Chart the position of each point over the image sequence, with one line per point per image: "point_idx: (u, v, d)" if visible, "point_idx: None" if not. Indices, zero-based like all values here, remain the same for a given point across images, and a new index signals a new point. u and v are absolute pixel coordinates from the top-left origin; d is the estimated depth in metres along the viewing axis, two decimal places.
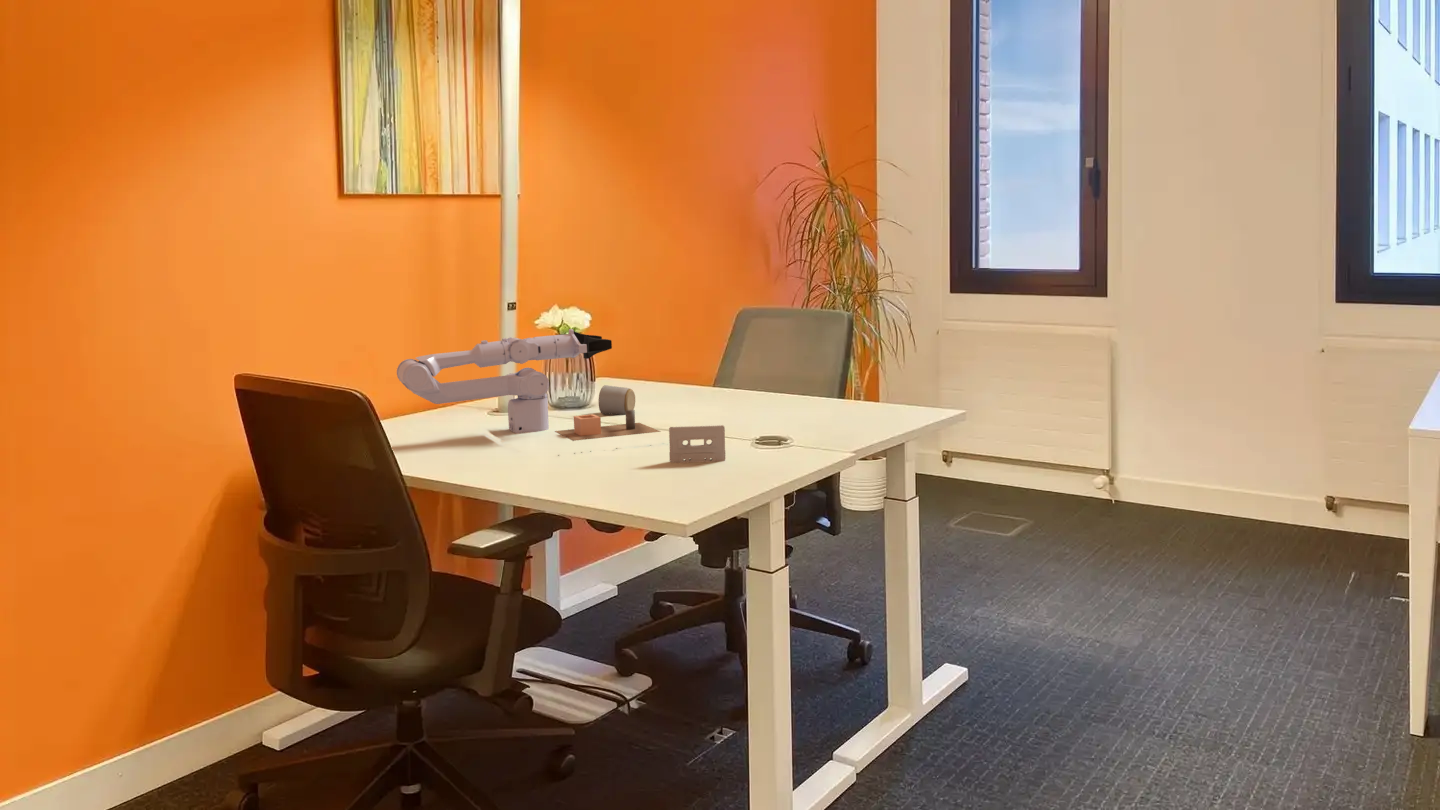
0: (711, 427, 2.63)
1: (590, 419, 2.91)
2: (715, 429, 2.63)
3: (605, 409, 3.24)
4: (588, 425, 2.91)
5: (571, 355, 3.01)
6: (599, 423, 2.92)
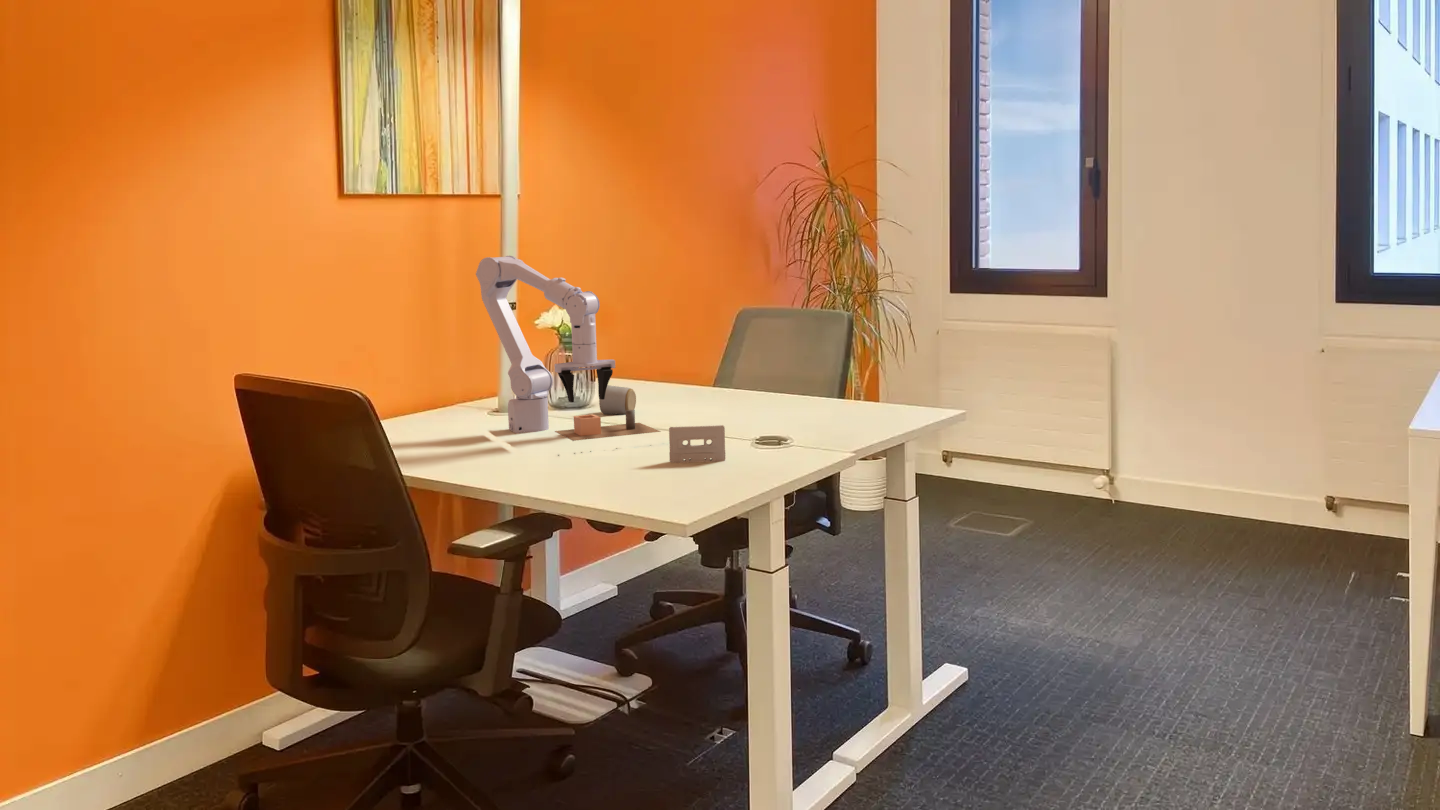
0: (711, 427, 2.63)
1: (590, 419, 2.91)
2: (715, 429, 2.63)
3: (606, 409, 3.24)
4: (588, 425, 2.91)
5: None
6: (599, 423, 2.92)
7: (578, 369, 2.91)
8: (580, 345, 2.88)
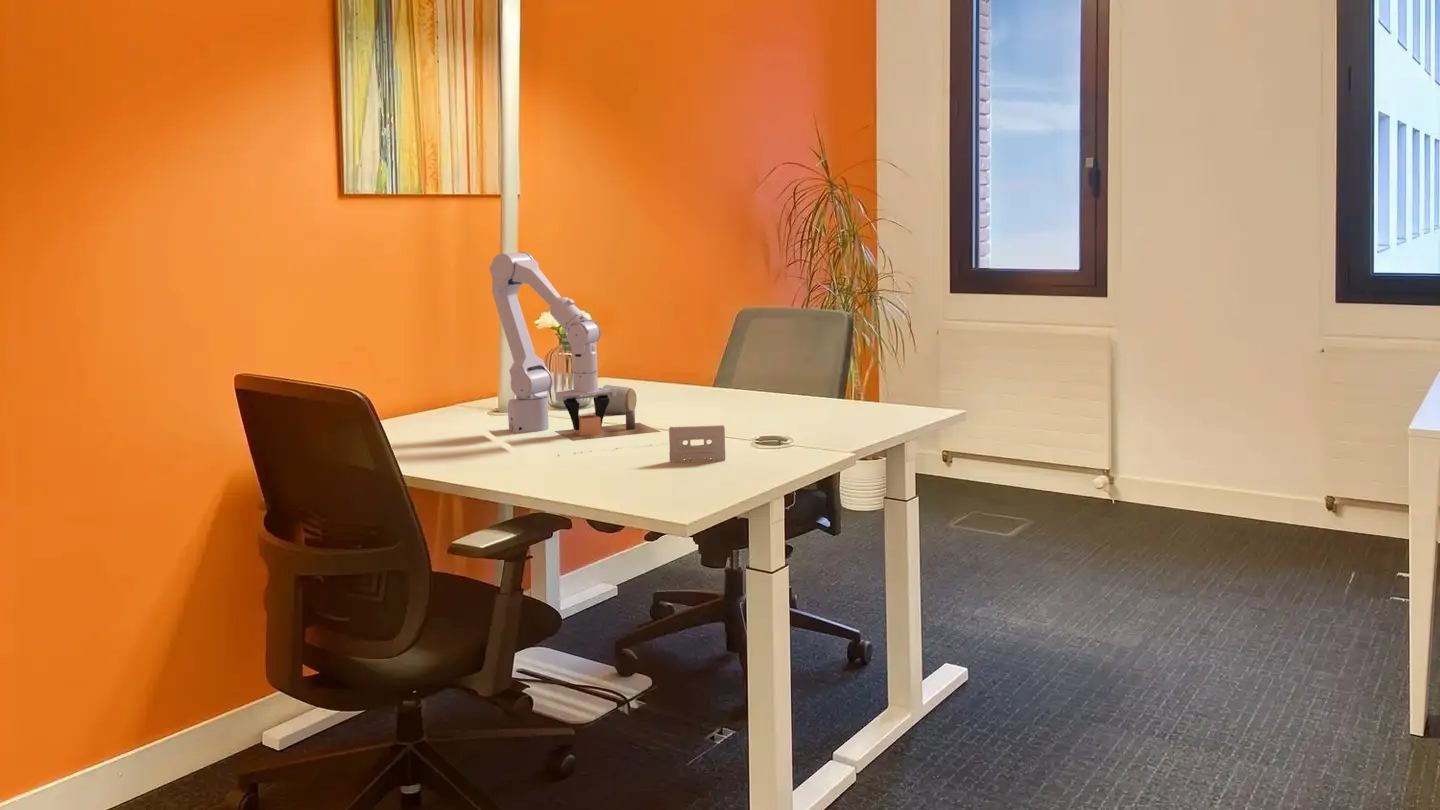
0: (711, 427, 2.63)
1: (590, 419, 2.91)
2: (715, 429, 2.63)
3: (606, 409, 3.24)
4: (588, 425, 2.91)
5: None
6: (599, 423, 2.92)
7: (579, 397, 2.92)
8: (581, 374, 2.89)
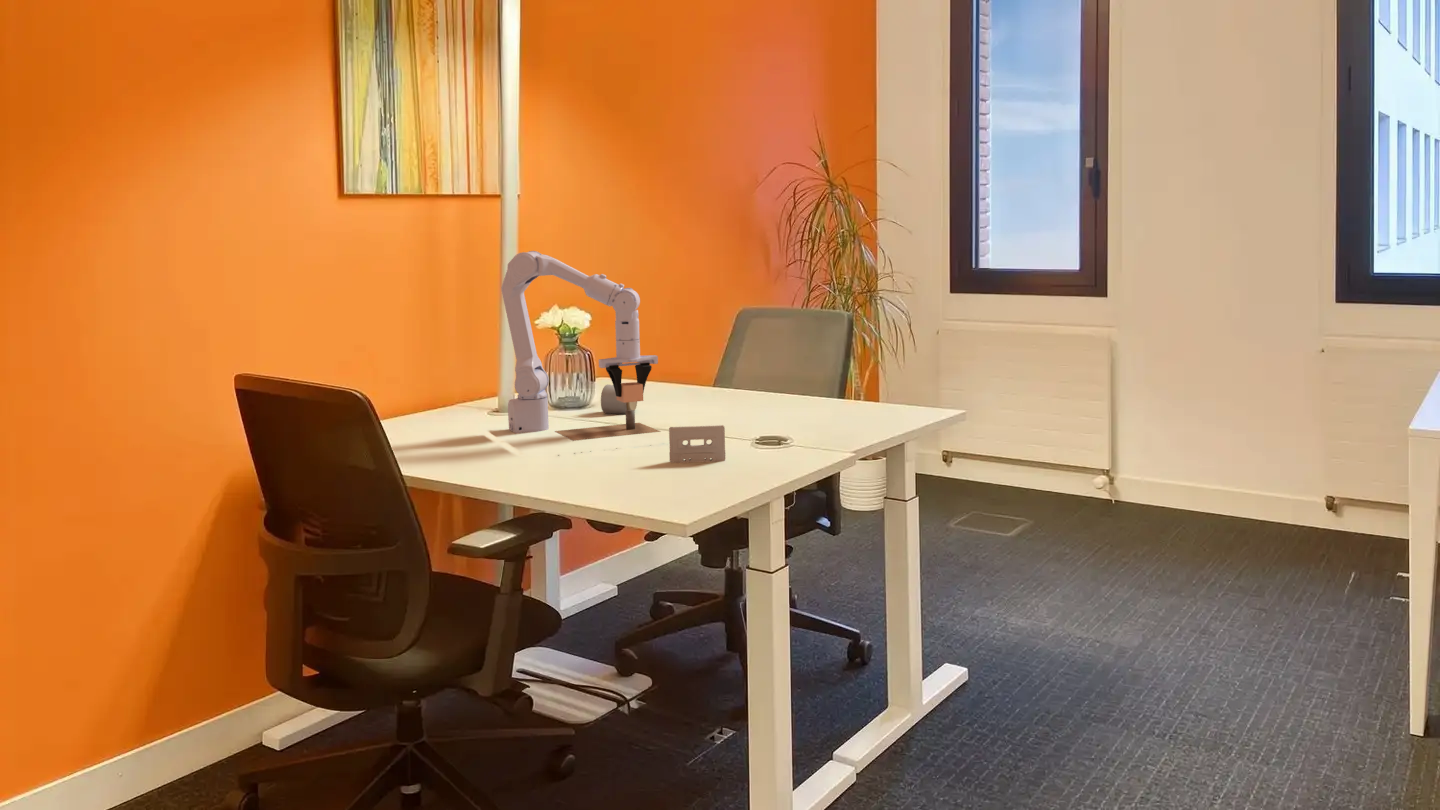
0: (711, 427, 2.63)
1: (633, 386, 2.95)
2: (715, 429, 2.63)
3: (607, 408, 3.25)
4: (631, 392, 2.95)
5: None
6: (641, 390, 2.96)
7: (622, 364, 2.95)
8: (624, 341, 2.93)
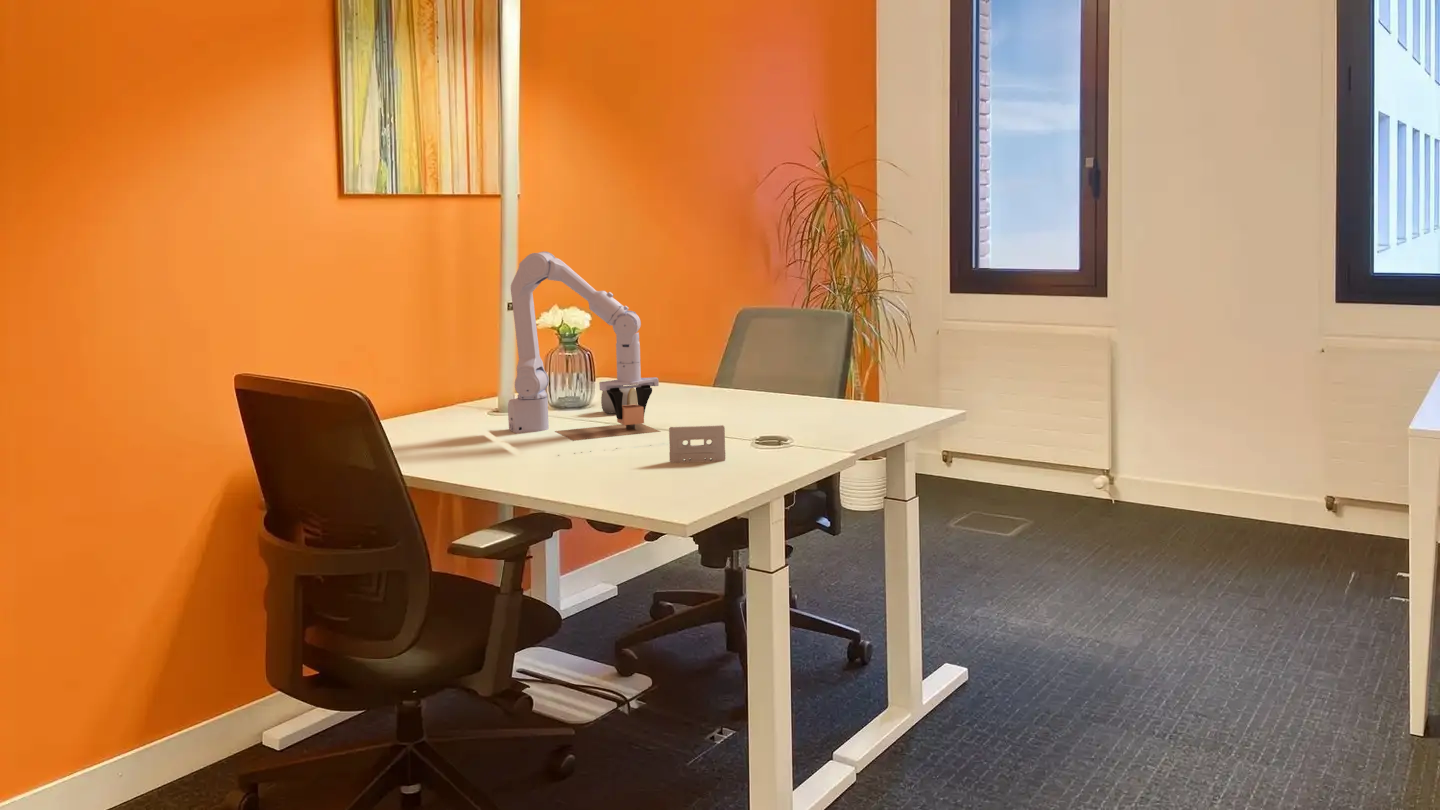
0: (711, 427, 2.63)
1: (633, 409, 2.96)
2: (715, 429, 2.63)
3: (608, 408, 3.25)
4: (631, 414, 2.96)
5: None
6: (642, 413, 2.97)
7: (622, 387, 2.96)
8: (625, 364, 2.93)
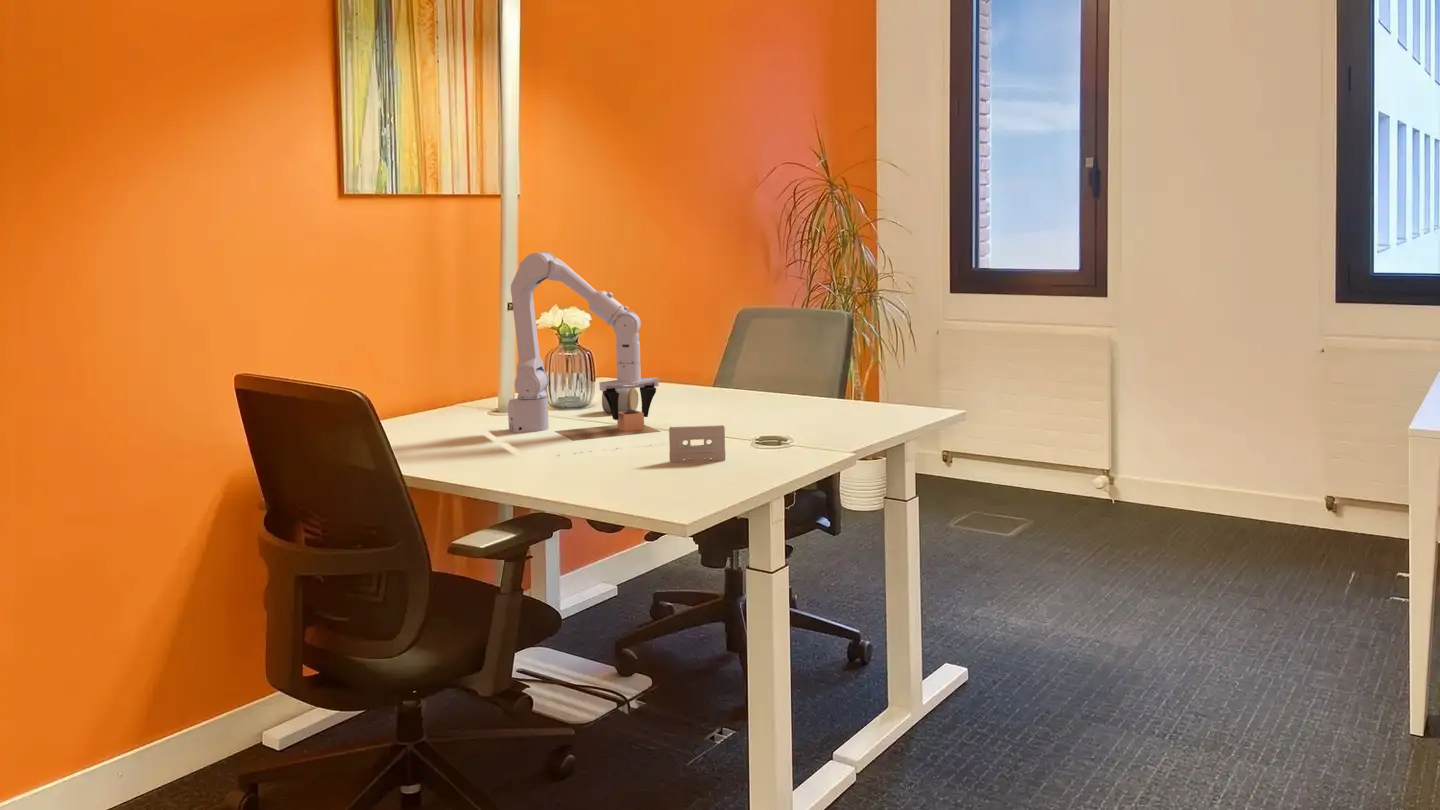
0: (711, 427, 2.63)
1: (634, 415, 2.96)
2: (715, 429, 2.63)
3: (608, 408, 3.26)
4: (632, 421, 2.96)
5: None
6: (642, 419, 2.97)
7: (622, 387, 2.96)
8: (625, 364, 2.93)
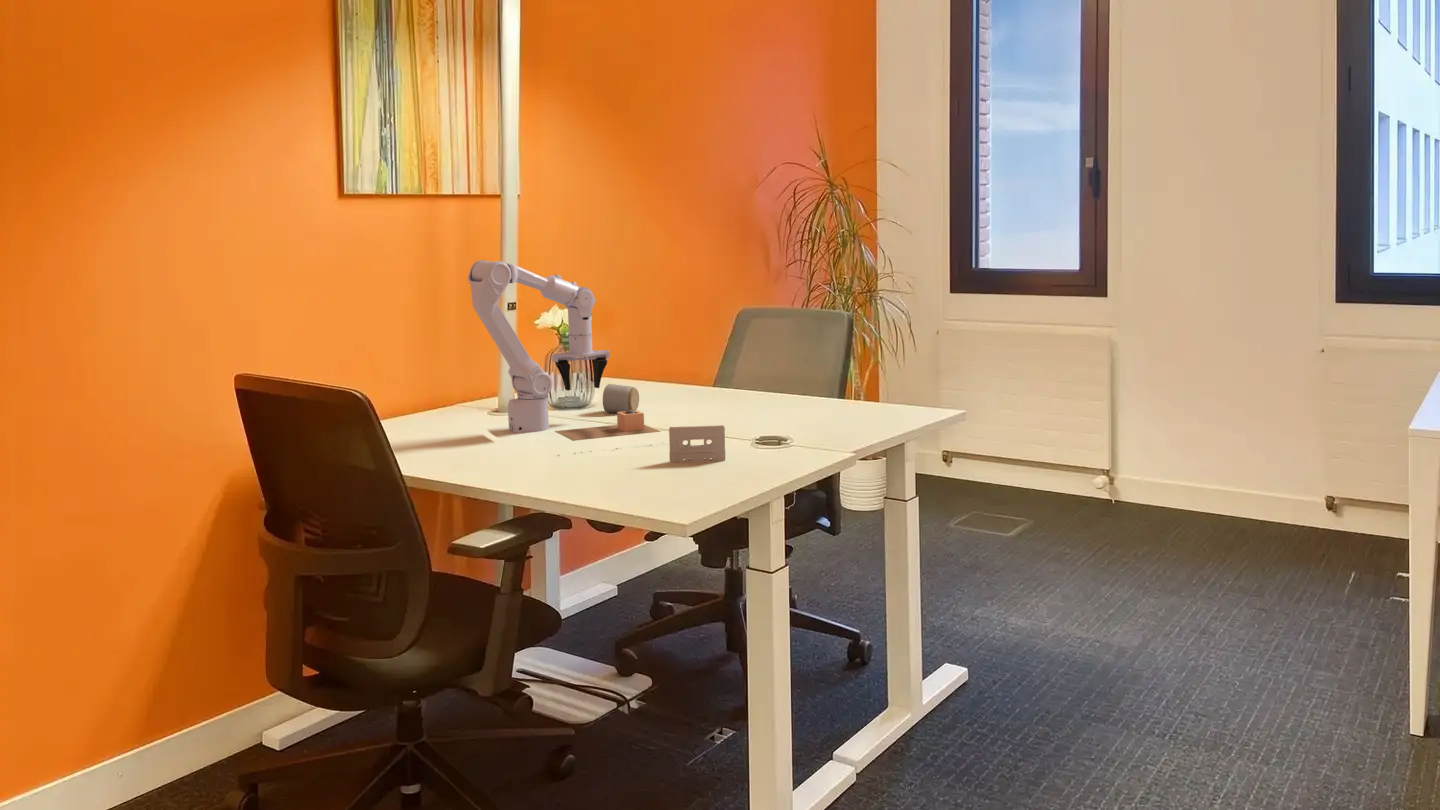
0: (711, 427, 2.63)
1: (634, 415, 2.96)
2: (715, 429, 2.63)
3: (609, 407, 3.26)
4: (632, 421, 2.96)
5: None
6: (642, 419, 2.97)
7: (574, 359, 3.07)
8: (576, 336, 3.04)
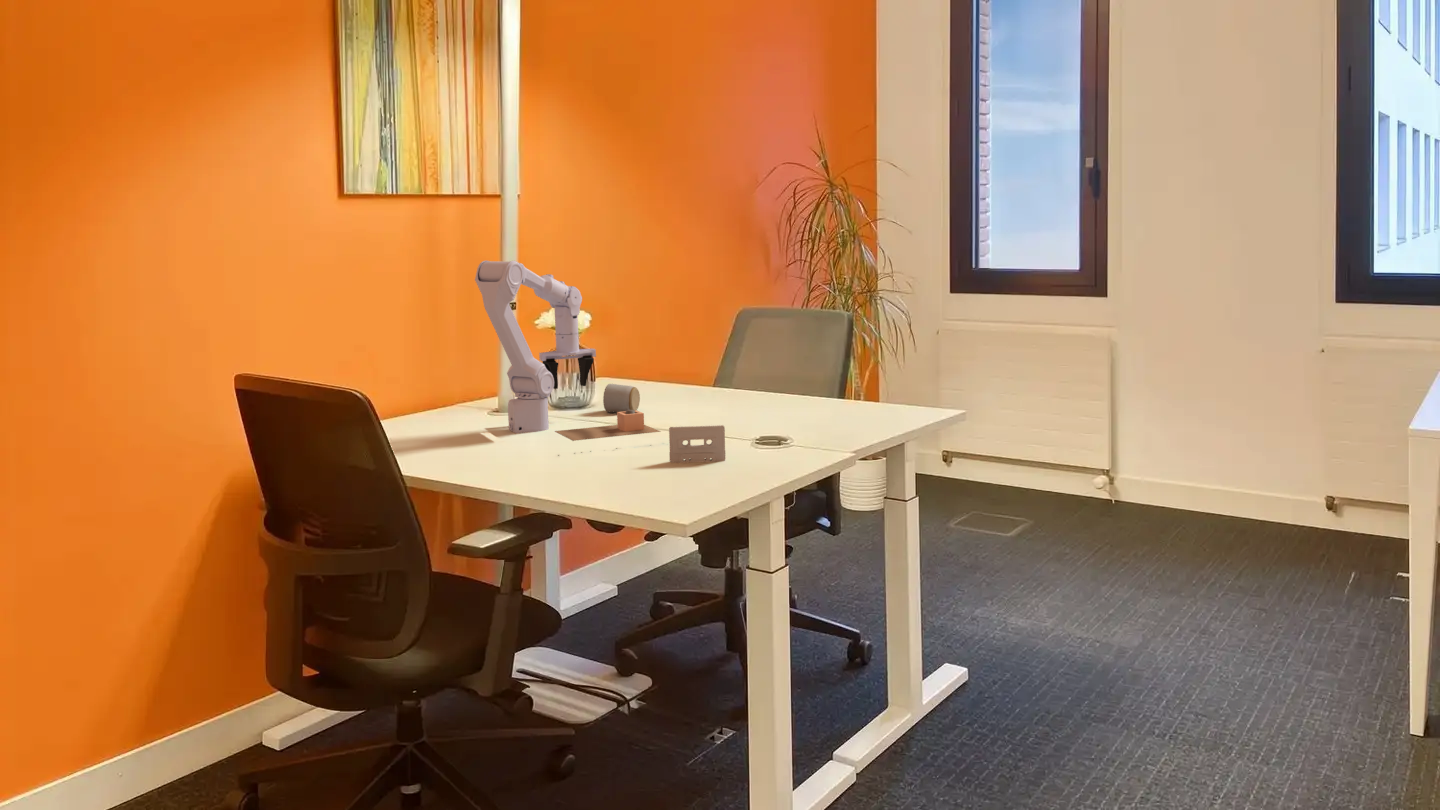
0: (711, 427, 2.63)
1: (634, 415, 2.96)
2: (715, 429, 2.63)
3: (610, 407, 3.27)
4: (632, 421, 2.96)
5: None
6: (642, 419, 2.97)
7: (561, 357, 3.10)
8: (564, 335, 3.07)
